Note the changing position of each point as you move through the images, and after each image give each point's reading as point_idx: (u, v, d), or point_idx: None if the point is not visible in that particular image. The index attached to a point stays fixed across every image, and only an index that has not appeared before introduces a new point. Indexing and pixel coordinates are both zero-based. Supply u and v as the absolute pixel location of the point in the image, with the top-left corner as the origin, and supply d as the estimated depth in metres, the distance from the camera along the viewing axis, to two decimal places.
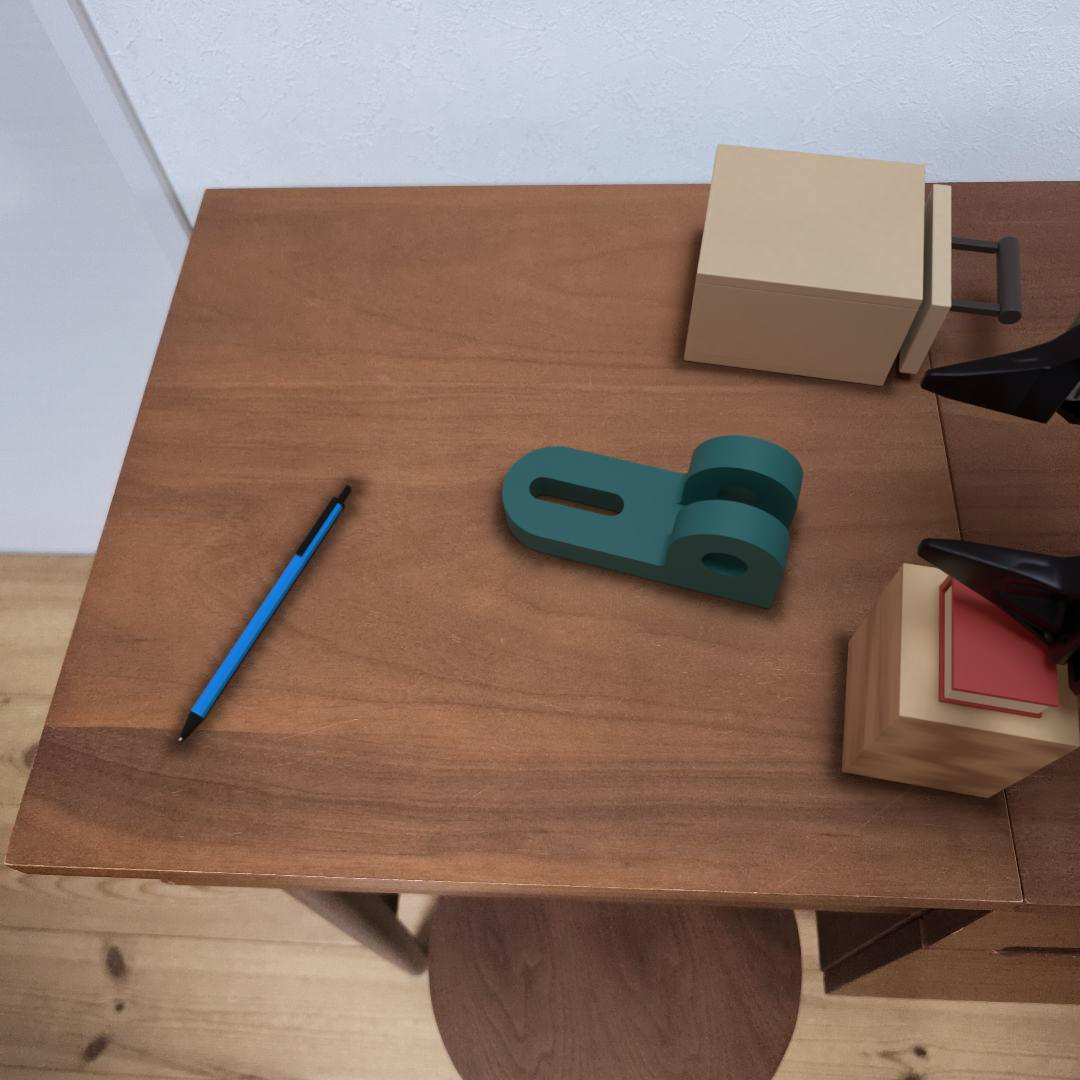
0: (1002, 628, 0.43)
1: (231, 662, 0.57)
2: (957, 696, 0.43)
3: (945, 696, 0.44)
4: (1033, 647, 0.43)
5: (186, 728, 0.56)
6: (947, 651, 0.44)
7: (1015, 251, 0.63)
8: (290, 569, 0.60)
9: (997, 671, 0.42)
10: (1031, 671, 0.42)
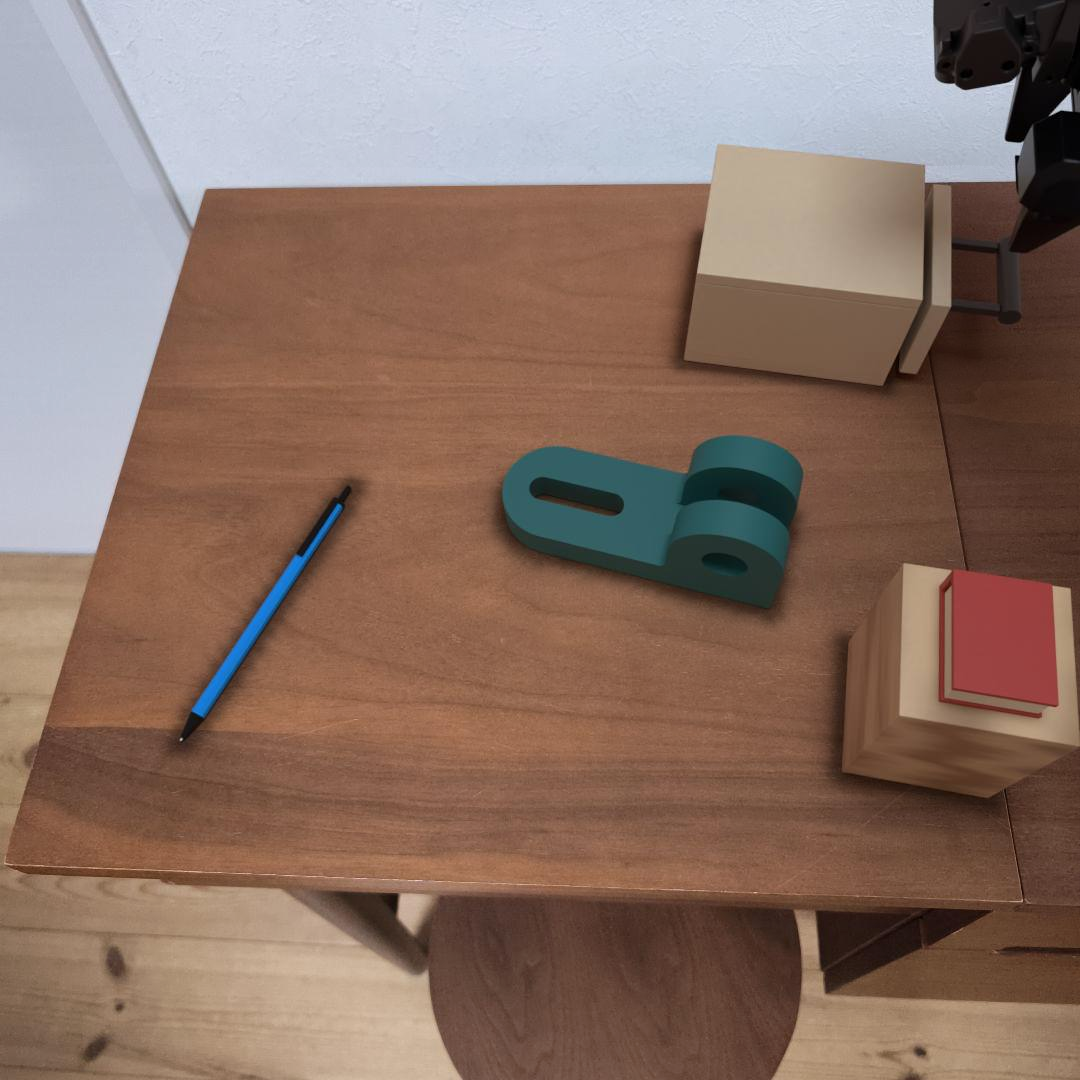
0: (1002, 628, 0.43)
1: (232, 662, 0.57)
2: (957, 696, 0.43)
3: (945, 696, 0.44)
4: (1033, 647, 0.43)
5: (187, 728, 0.56)
6: (947, 651, 0.44)
7: None
8: (290, 569, 0.60)
9: (997, 671, 0.42)
10: (1031, 671, 0.42)
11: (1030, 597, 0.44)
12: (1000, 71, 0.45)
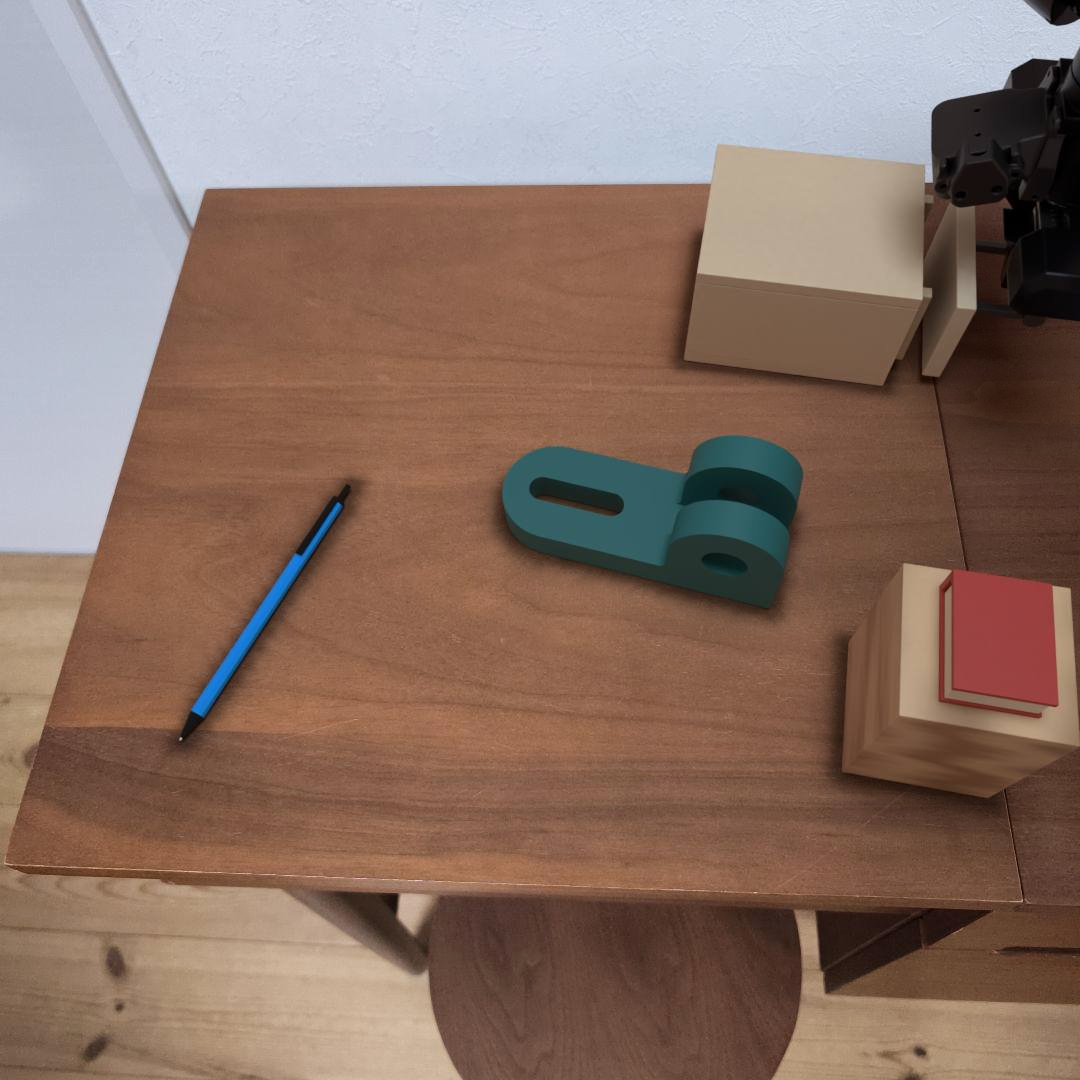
0: (1002, 628, 0.43)
1: (231, 662, 0.57)
2: (957, 696, 0.43)
3: (945, 696, 0.44)
4: (1033, 647, 0.43)
5: (187, 727, 0.55)
6: (947, 651, 0.44)
7: None
8: (290, 568, 0.60)
9: (997, 671, 0.42)
10: (1031, 671, 0.42)
11: (1030, 597, 0.44)
12: (990, 193, 0.52)
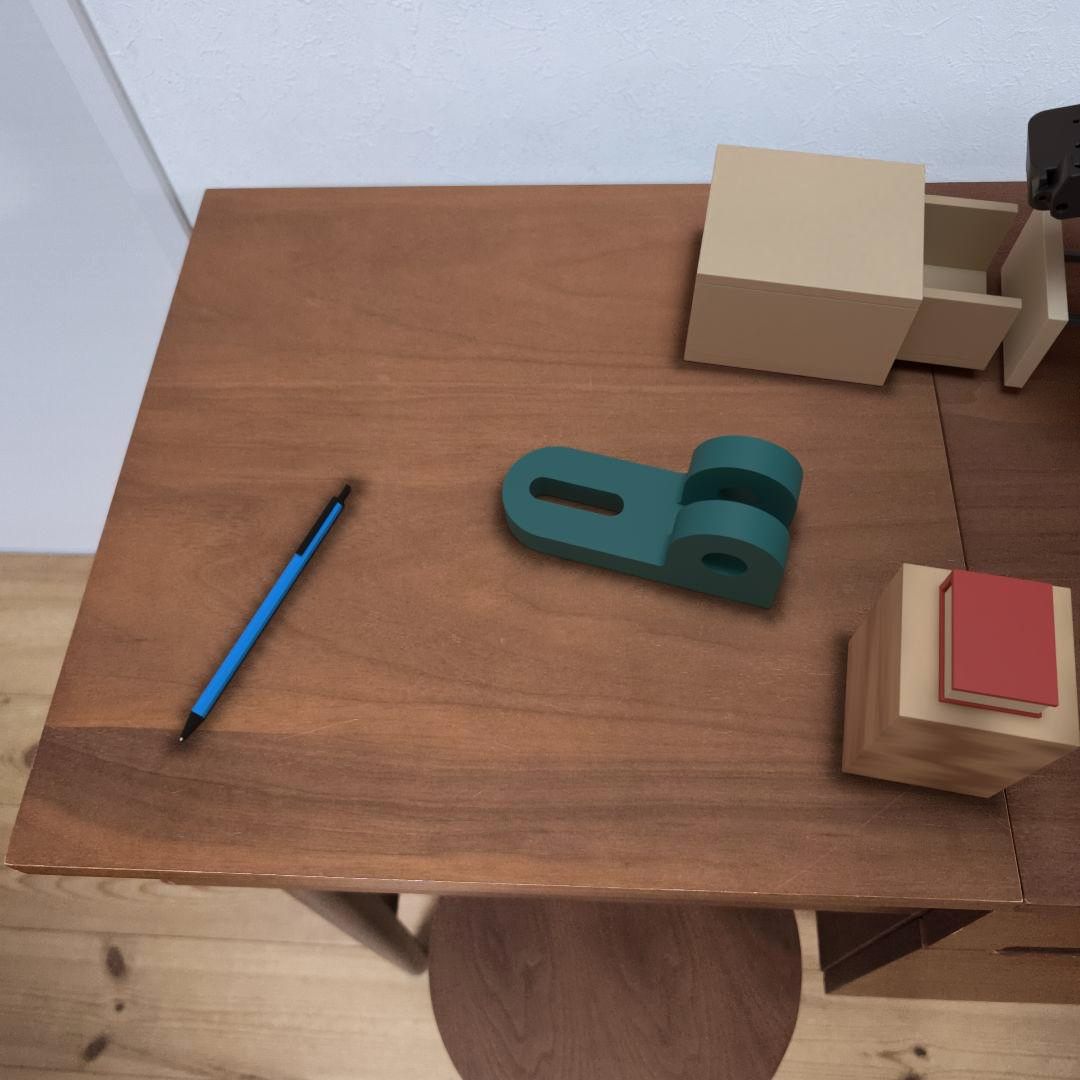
0: (1002, 628, 0.43)
1: (231, 662, 0.57)
2: (957, 696, 0.43)
3: (945, 696, 0.44)
4: (1033, 647, 0.43)
5: (187, 727, 0.56)
6: (947, 651, 0.44)
7: None
8: (290, 569, 0.60)
9: (997, 671, 0.42)
10: (1031, 671, 0.42)
11: (1030, 597, 0.44)
12: None
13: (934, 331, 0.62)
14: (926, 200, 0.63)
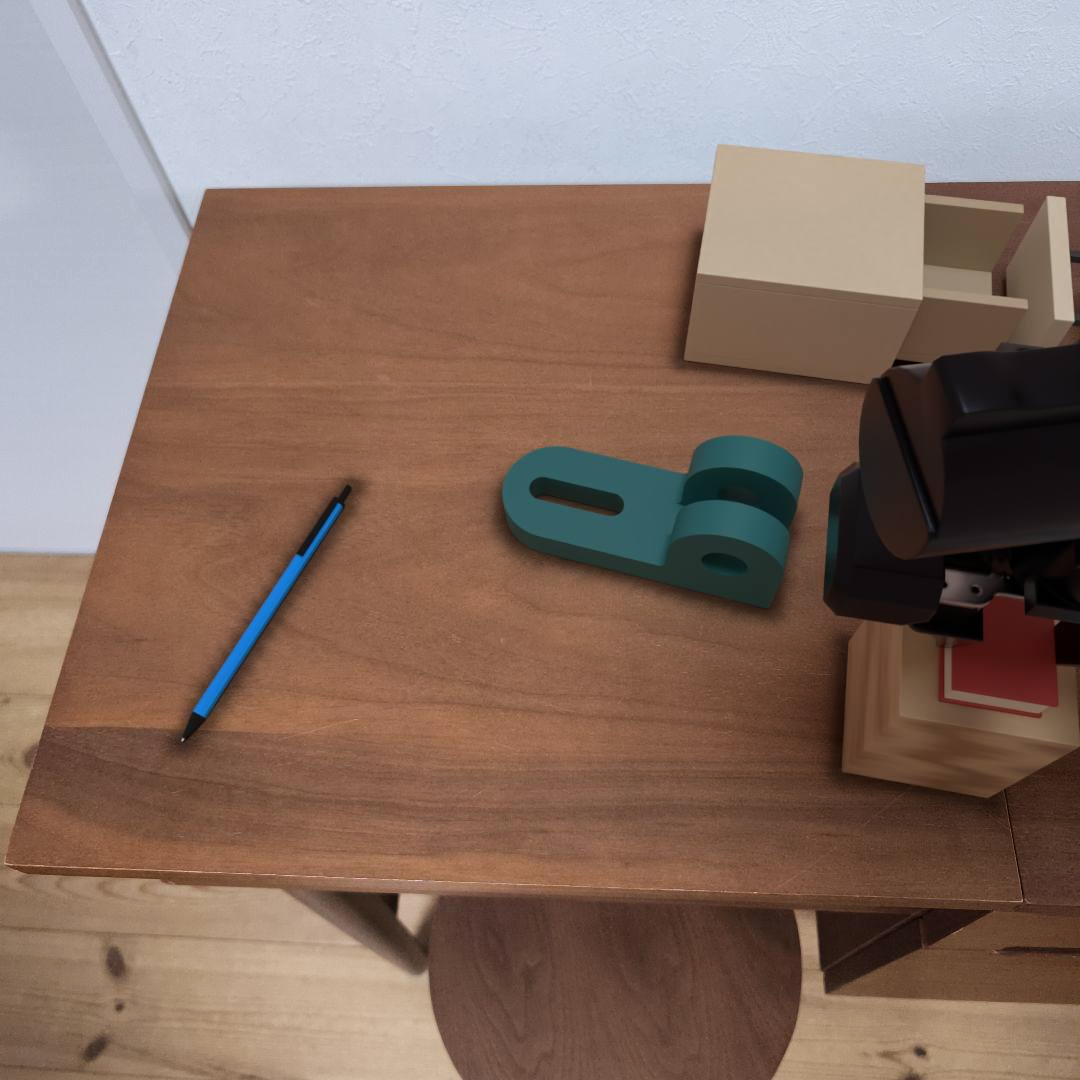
0: (1002, 628, 0.43)
1: (233, 662, 0.57)
2: (957, 696, 0.43)
3: (945, 696, 0.44)
4: (1033, 647, 0.43)
5: (189, 728, 0.56)
6: (947, 651, 0.44)
7: None
8: (291, 569, 0.60)
9: (997, 671, 0.42)
10: (1031, 671, 0.42)
11: None
12: None
13: (940, 332, 0.62)
14: (932, 201, 0.63)
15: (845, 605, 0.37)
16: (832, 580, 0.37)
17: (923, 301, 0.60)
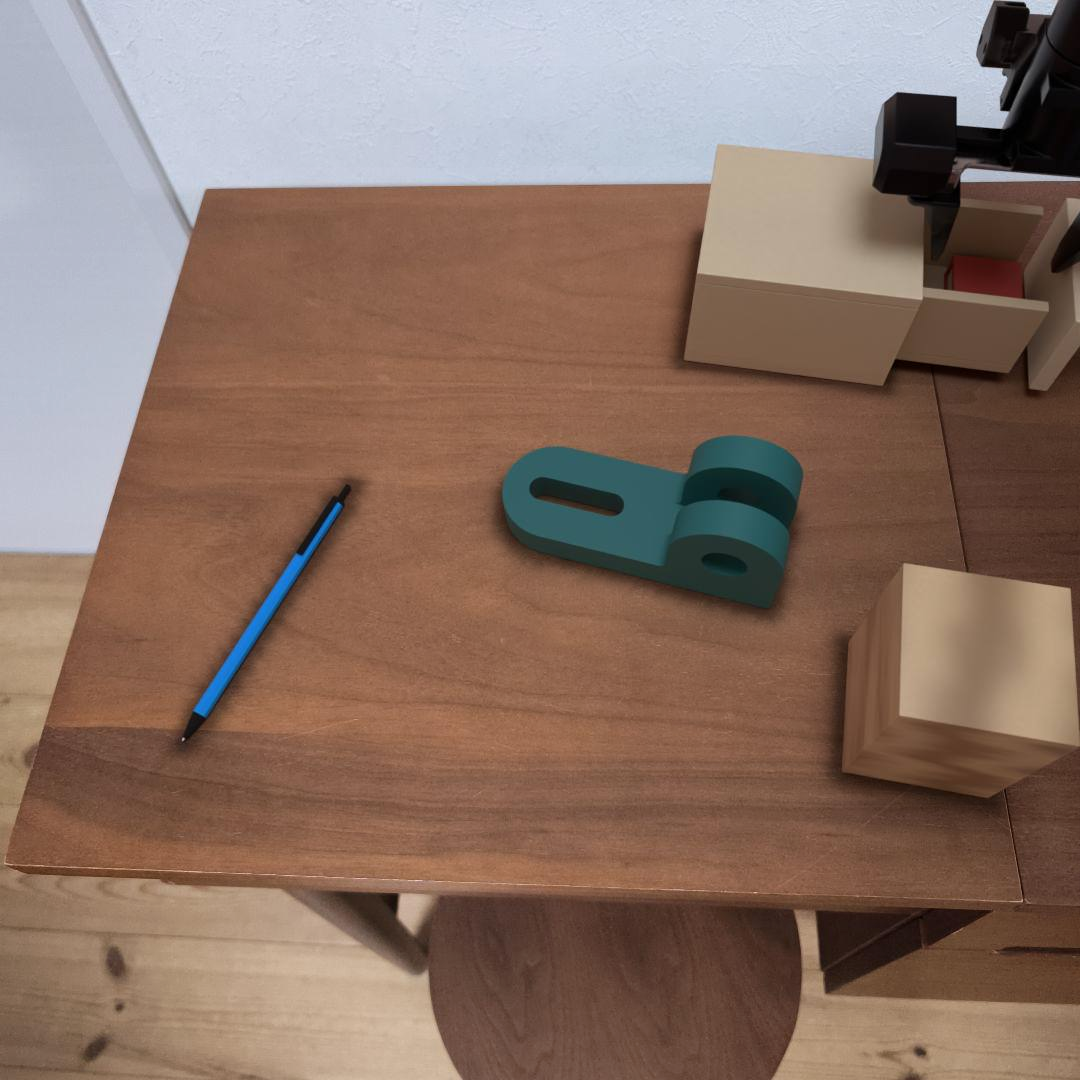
0: (987, 287, 0.64)
1: (233, 662, 0.57)
2: None
3: None
4: None
5: (189, 728, 0.56)
6: None
7: None
8: (291, 568, 0.60)
9: None
10: None
11: (1006, 270, 0.64)
12: (983, 49, 0.55)
13: (960, 335, 0.61)
14: None
15: (888, 179, 0.54)
16: (879, 161, 0.54)
17: (943, 303, 0.59)
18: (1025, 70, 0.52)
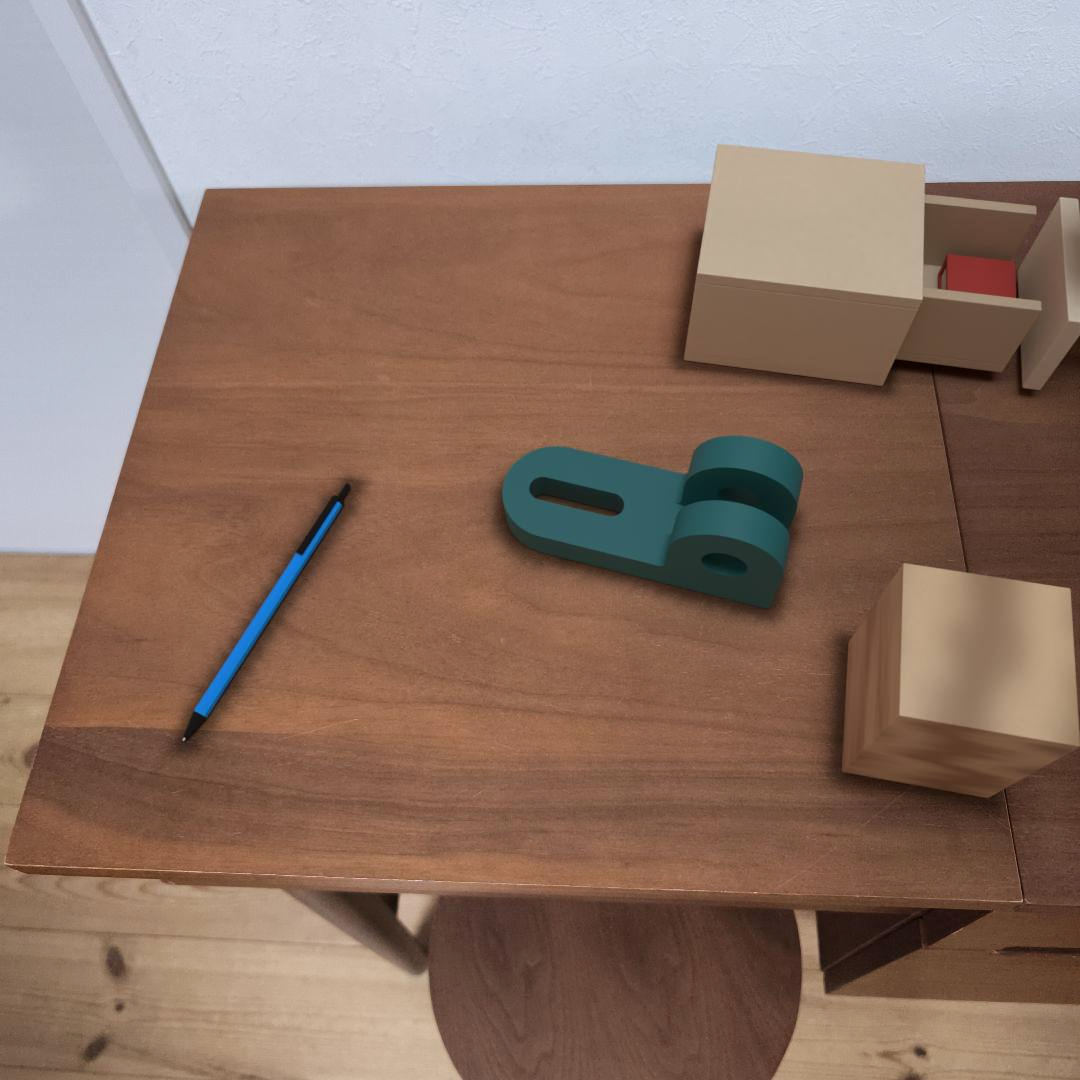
0: (980, 287, 0.64)
1: (233, 661, 0.57)
2: None
3: None
4: None
5: (190, 727, 0.56)
6: None
7: None
8: (291, 568, 0.60)
9: None
10: None
11: (999, 269, 0.64)
12: None
13: (953, 334, 0.62)
14: (944, 202, 0.63)
15: None
16: None
17: (936, 303, 0.59)
18: None
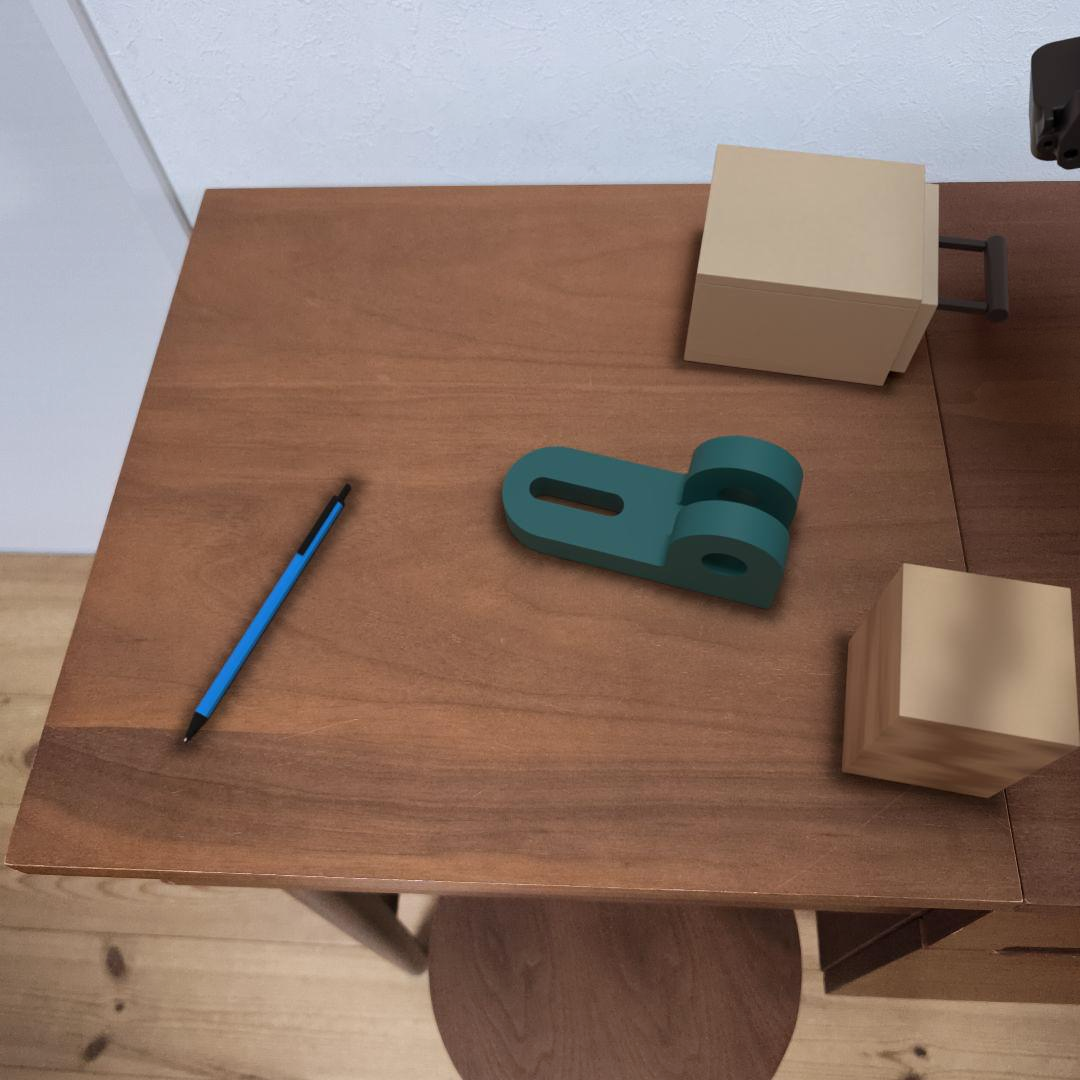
0: None
1: (235, 662, 0.57)
2: None
3: None
4: None
5: (191, 728, 0.56)
6: None
7: (1003, 250, 0.63)
8: (292, 568, 0.60)
9: None
10: None
11: None
12: None
13: None
14: None
15: None
16: None
17: None
18: None
